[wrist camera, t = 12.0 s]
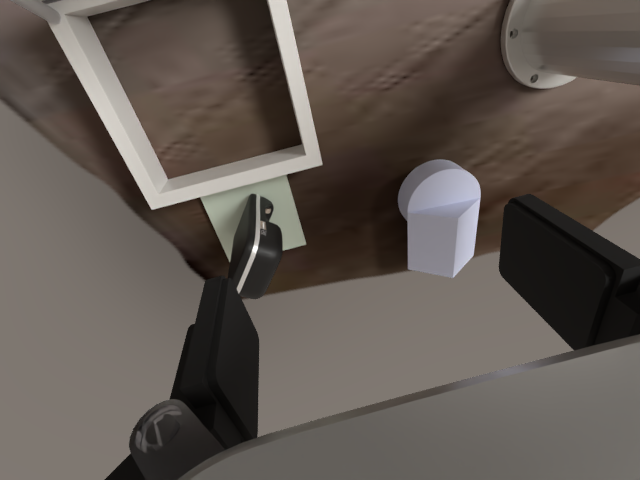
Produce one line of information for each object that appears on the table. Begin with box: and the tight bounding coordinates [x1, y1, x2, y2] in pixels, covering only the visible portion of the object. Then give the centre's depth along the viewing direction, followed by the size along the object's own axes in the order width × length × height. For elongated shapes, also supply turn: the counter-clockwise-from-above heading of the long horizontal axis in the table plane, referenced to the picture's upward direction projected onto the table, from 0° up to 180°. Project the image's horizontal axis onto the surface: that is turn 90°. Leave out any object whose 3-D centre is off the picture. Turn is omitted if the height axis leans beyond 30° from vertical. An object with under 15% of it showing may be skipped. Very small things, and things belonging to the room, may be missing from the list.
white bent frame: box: [10, 0, 323, 210], centre depth 24 cm, size 18×21×20 cm
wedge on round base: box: [398, 159, 481, 278], centre depth 41 cm, size 9×7×13 cm
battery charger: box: [228, 194, 283, 299], centre depth 35 cm, size 7×4×11 cm, turn 155°
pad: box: [200, 175, 306, 262], centre depth 41 cm, size 10×10×1 cm
